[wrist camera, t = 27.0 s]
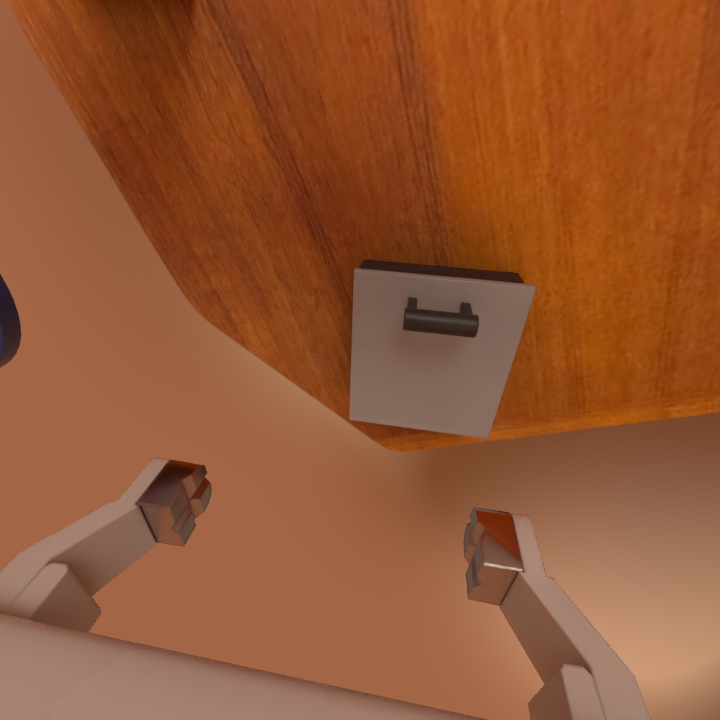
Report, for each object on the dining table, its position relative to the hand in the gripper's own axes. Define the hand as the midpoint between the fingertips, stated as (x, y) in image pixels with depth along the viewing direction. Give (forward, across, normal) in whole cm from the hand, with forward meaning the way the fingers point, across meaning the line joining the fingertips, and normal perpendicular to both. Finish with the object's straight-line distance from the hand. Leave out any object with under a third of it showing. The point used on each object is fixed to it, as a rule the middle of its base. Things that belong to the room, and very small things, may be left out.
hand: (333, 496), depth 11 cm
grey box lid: (+20, -4, +8) cm, 22 cm away
